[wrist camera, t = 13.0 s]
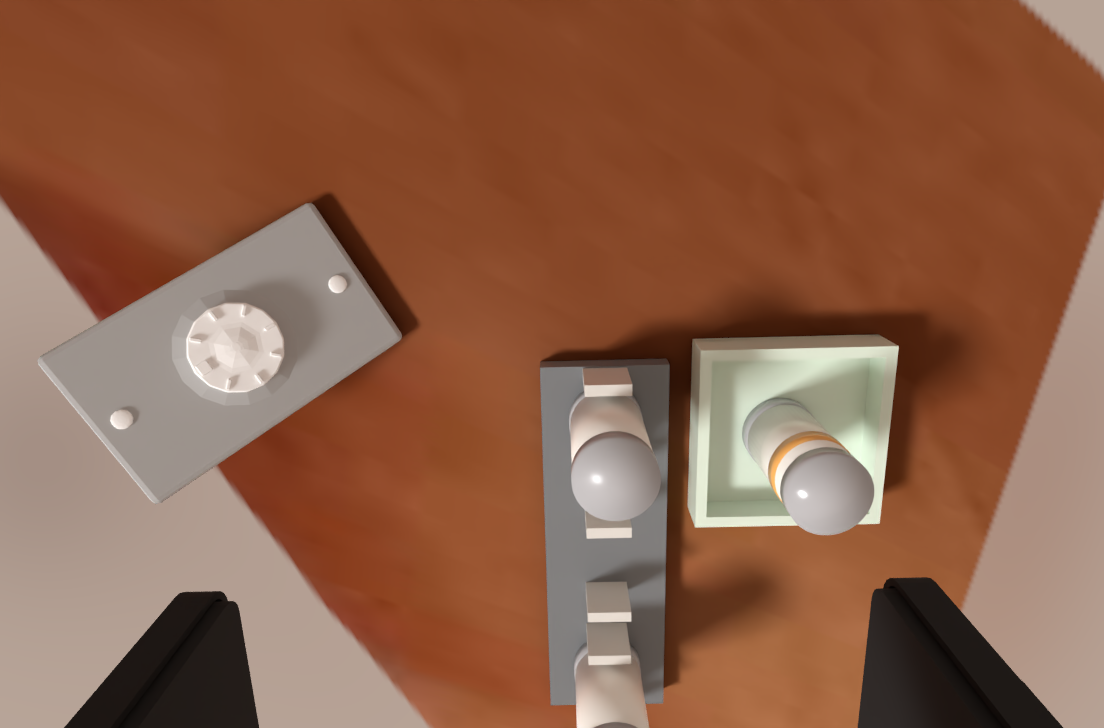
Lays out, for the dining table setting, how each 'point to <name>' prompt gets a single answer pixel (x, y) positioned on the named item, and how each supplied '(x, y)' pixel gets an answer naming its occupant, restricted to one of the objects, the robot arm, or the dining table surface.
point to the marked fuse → (807, 467)
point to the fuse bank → (606, 535)
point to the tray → (795, 373)
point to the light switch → (223, 352)
